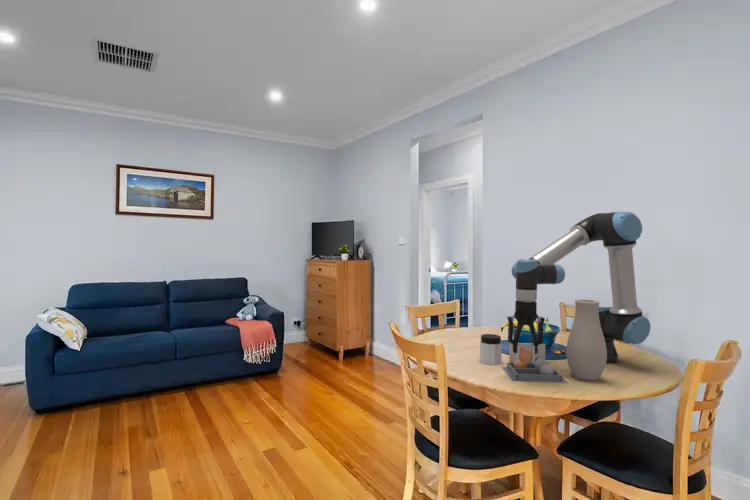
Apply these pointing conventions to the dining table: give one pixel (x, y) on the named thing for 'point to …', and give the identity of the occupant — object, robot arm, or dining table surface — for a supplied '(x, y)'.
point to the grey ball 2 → (546, 370)
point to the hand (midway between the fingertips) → (524, 361)
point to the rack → (530, 367)
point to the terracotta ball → (519, 364)
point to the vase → (586, 342)
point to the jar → (490, 349)
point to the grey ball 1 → (539, 363)
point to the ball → (525, 356)
